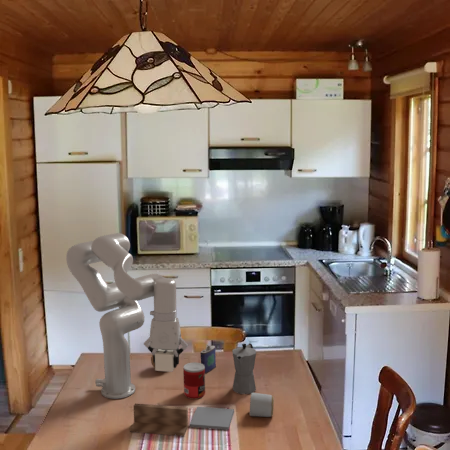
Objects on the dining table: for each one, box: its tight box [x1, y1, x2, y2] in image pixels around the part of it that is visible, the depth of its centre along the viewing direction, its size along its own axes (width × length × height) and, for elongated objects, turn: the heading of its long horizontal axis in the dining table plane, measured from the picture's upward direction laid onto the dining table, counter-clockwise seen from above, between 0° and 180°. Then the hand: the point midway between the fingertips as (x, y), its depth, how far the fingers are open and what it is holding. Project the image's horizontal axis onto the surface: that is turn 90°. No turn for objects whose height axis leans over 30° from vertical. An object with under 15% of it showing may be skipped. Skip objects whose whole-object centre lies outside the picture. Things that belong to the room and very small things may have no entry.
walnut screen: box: [129, 403, 189, 437], centre depth 179 cm, size 18×6×7 cm, turn 80°
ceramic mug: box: [249, 392, 275, 418], centre depth 189 cm, size 11×8×8 cm
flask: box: [200, 344, 217, 375], centre depth 224 cm, size 9×3×11 cm, turn 147°
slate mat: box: [189, 406, 235, 431], centre depth 185 cm, size 13×12×1 cm
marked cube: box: [154, 349, 176, 372], centre depth 187 cm, size 6×6×6 cm
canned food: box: [182, 362, 206, 400], centre depth 203 cm, size 8×8×11 cm
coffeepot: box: [232, 342, 257, 395], centre depth 207 cm, size 15×9×18 cm, turn 159°
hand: (166, 365), depth 187 cm, fingers closed on marked cube, 6 cm apart
